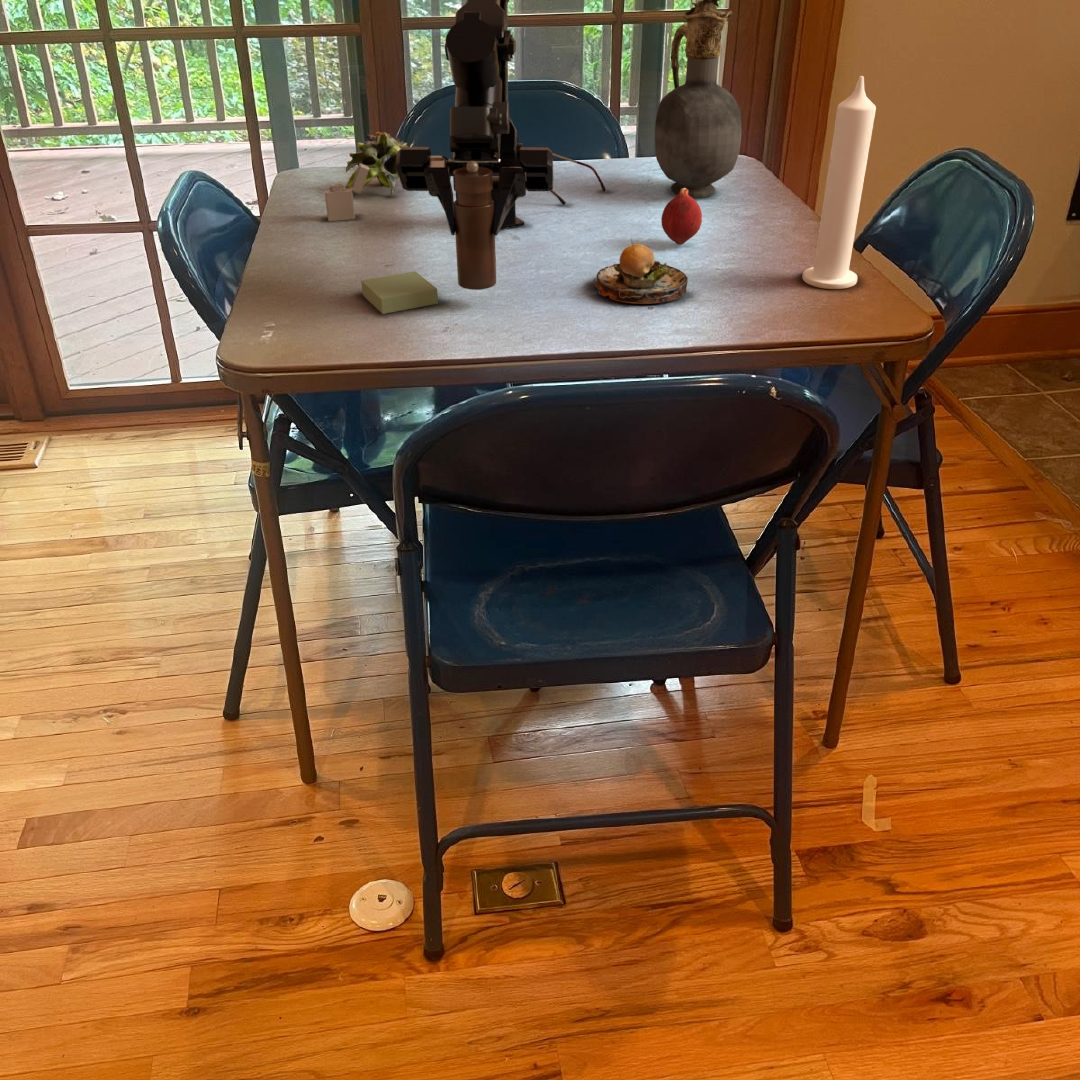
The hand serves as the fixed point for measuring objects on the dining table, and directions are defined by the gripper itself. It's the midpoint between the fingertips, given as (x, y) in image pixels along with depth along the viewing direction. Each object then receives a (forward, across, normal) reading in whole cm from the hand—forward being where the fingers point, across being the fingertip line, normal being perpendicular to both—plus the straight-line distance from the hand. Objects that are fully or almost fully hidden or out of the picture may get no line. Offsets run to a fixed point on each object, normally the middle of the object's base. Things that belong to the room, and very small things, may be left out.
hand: (473, 233), depth 120 cm
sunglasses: (-32, +8, +46) cm, 56 cm away
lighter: (-20, -23, +34) cm, 46 cm away
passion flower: (-31, -21, +45) cm, 59 cm away
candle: (-1, +46, +15) cm, 48 cm away
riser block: (+5, -10, +9) cm, 14 cm away
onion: (-11, +27, +25) cm, 39 cm away
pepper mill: (+4, 0, +6) cm, 7 cm away
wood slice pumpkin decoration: (+2, +21, +12) cm, 24 cm away
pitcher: (-32, +31, +46) cm, 65 cm away
